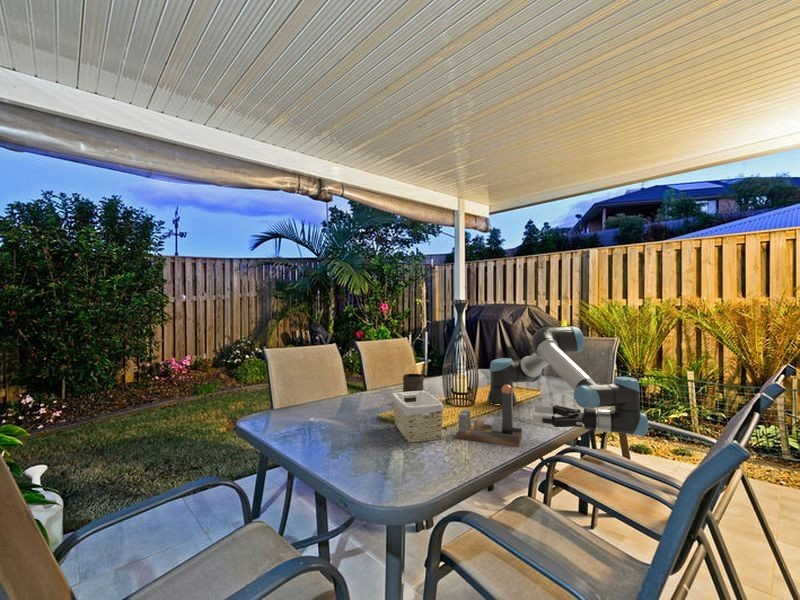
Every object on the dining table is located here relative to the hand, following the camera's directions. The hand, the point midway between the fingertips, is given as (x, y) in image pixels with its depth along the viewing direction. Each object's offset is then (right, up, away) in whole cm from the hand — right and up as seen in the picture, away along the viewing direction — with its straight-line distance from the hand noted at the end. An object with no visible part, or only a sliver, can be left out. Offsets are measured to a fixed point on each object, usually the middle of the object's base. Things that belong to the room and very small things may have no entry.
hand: (533, 413), depth 143 cm
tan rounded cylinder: (-19, -10, +8) cm, 23 cm away
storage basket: (-44, -13, +14) cm, 48 cm away
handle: (-10, -9, +5) cm, 15 cm away
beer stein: (-44, -13, +39) cm, 60 cm away
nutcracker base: (-15, -12, +7) cm, 21 cm away
